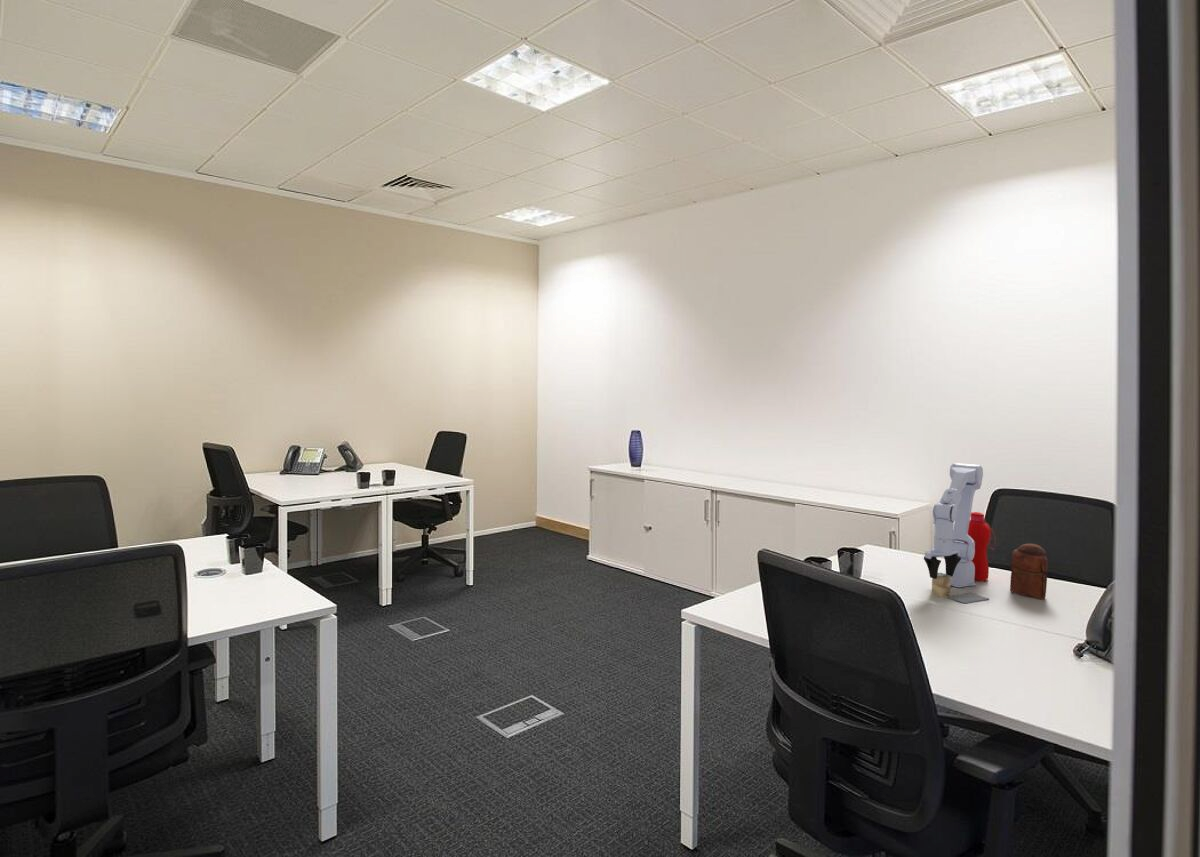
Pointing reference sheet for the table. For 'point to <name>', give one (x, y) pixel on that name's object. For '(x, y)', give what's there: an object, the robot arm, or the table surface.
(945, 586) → the oak block
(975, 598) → the slate mat
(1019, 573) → the brown upright rounded block
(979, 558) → the water bottle
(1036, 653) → the table surface
